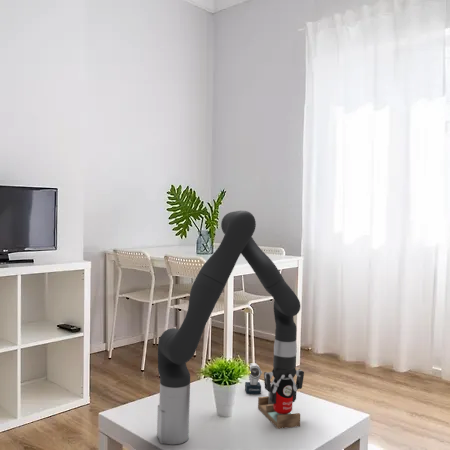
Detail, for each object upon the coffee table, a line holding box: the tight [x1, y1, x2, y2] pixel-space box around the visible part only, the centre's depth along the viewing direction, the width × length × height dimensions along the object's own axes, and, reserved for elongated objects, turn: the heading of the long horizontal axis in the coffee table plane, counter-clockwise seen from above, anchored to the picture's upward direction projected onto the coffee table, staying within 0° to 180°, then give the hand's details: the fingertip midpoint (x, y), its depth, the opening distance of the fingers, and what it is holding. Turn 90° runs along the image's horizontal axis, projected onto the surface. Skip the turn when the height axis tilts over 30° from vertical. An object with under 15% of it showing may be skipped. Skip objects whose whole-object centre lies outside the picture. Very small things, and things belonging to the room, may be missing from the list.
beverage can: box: [273, 377, 294, 414], centre depth 171 cm, size 6×6×12 cm
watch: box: [244, 362, 263, 395], centre depth 197 cm, size 6×8×11 cm
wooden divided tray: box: [257, 382, 301, 429], centre depth 175 cm, size 8×17×10 cm, turn 18°
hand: (282, 401), depth 172 cm, fingers closed on beverage can, 6 cm apart
